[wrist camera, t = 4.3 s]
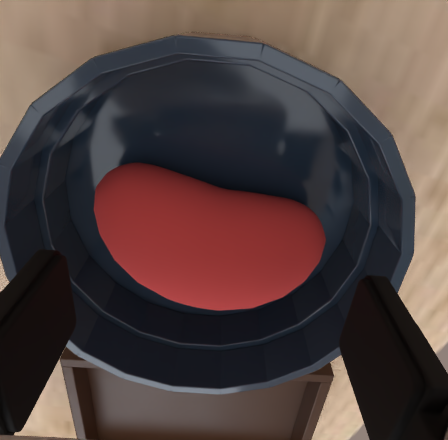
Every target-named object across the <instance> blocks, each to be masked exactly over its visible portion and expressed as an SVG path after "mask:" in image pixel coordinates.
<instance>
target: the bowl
mask: <svg viewBox="0 0 448 440" xmlns="http://www.w3.org/2000/svg"><path fill="white" fill-rule="evenodd" d="M128 163H145V164H152V165H155V166H159V167H162V168H165V169H168V170H171V171H174V172H177V173H180V174H183V175H186V176H189V177H192V178H194V179H197V180H200V181H203V182H206V183H209V184H211V185H214V186H217V187H220V188H224V189H229V190H237V191H246V192H253V193H260V194H266V195H271V196H278V197H283V198H287V199H291V200H295V201H297V202H299V203H301V204H304V205H305V206H307V207H308V208H310V209H311V210H312V211H313V212H314V213H315V214H316V215H317V217H318V218H319V220H320V221H321V223H322V226H323V230H324V233H325V238H326V243H325V246H324V249H323V252H322V256H321V259H320V261H319V263H318V264H317V266H316V267H315V268H314V270H313V271H312V272H311V274H310V275H309V276H308V278H307V279H306V280H305V281H304V282H303V283H302V284H300V285H299V286H298V287H296V288H295V289H294V290H292V291H291V292H289V293H288V294H287V295H285V296H284V297H282V298H279V299H277V300H274V301H271V302H268V303H265V304H263V305H260V306H257V307H254V308H249V309H235V310H210V309H203V308H197V307H193V306H188V305H185V304H181V303H178V302H175V301H172V300H169V299H167V298H165V297H163V296H161V295H160V294H158V293H156V292H154V291H152V290H150V289H149V288H147V287H145V286H143V285H141V284H140V283H138V282H137V281H136V280H135V279H134V278H133V277H131V276H130V275H129V274H128V273H127V272H126V271H125V270H124V269H123V268H122V267H121V266H120V265H119V264H118V263H117V262H116V261H115V260H114V258H113V257H112V255H111V253H110V251H109V250H108V248H107V246H106V245H105V243H104V241H103V239H102V238H101V236H100V234H99V230H98V226H97V221H96V217H95V213H94V200H95V189H96V187H97V185H98V184H99V182H100V181H101V180H102V179H103V177H104V176H105V175H106V174H107V173H108V172H109V171H111V170H112V169H114V168H116V167H119V166H121V165H124V164H128ZM415 198H416V197H415V193H414V190H413V187H412V185H411V182H410V180H409V177H408V174H407V172H406V169H405V166H404V164H403V161H402V159H401V156H400V153H399V151H398V148H397V145H396V143H395V140H394V138H393V135H391V132H390V131H389V130H388V129H387V128H386V127H385V126H384V125H383V124H382V123H381V122H380V121H379V120H378V118H377V117H376V116H375V115H374V114H373V113H372V112H371V111H370V110H369V109H368V108H367V107H366V106H365V105H364V104H363V103H362V101H361V100H360V99H359V98H358V97H357V96H356V95H355V94H354V93H353V92H352V91H351V90H350V89H349V88H348V87H347V86H346V85H345V83H344V82H343V81H342V80H340V79H339V78H337V77H335V76H333V75H331V74H329V73H327V72H325V71H323V70H321V69H319V68H317V67H315V66H313V65H311V64H309V63H307V62H305V61H303V60H301V59H299V58H297V57H295V56H292V55H290V54H288V53H286V52H284V51H282V50H280V49H278V48H276V47H274V46H271V45H269V44H267V43H265V42H263V41H261V40H259V39H257V38H252V37H248V36H237V35H226V34H215V33H204V32H185V33H180V34H176V35H172V36H168V37H164V38H161V39H157V40H153V41H150V42H146V43H142V44H139V45H135V46H131V47H128V48H124V49H120V50H117V51H113V52H109V53H106V54H102V55H99V56H95V57H93V58H91V59H89V60H88V61H87V62H85V63H84V64H83V65H81V66H80V67H79V68H77V69H76V70H75V71H73V72H72V73H71V74H69V75H68V76H67V77H65V78H64V79H63V80H62V81H60V82H59V83H58V84H56V85H55V86H54V87H52V88H51V89H50V90H48V91H47V92H46V93H44V94H43V95H42V96H40V97H39V98H38V99H36V100H35V101H34V102H32V104H31V105H30V106H29V108H28V110H27V111H26V113H25V115H24V117H23V118H22V120H21V122H20V124H19V125H18V127H17V129H16V131H15V133H14V134H13V136H12V138H11V140H10V141H9V143H8V145H7V147H6V148H5V150H4V152H3V154H2V155H1V157H0V257H1V260H2V264H3V268H4V271H5V275H6V277H7V279H8V281H9V282H10V281H11V280H12V279H13V278H14V277H15V276H16V275H17V273H18V272H19V271H20V270H21V269H22V268H23V267H24V265H25V264H26V263H27V262H28V261H29V260H30V258H31V257H32V256H33V255H34V254H35V253H36V252H37V251H38V250H40V249H45V250H58V251H60V253H61V255H62V256H65V257H66V259H67V264H68V270H69V276H70V282H71V288H72V294H73V301H74V307H75V313H76V326H75V329H74V331H73V333H72V335H71V337H70V339H69V341H68V343H67V345H66V347H67V348H68V349H69V350H70V351H72V352H73V353H74V354H75V355H77V356H78V357H80V358H82V359H84V360H86V361H88V362H90V363H92V364H94V365H96V366H98V367H100V368H102V369H104V370H106V371H108V372H110V373H112V374H114V375H116V376H118V377H120V378H123V379H125V380H129V381H132V382H136V383H140V384H144V385H147V386H151V387H155V388H159V389H163V390H166V391H172V392H183V393H200V394H217V395H220V394H222V395H223V394H230V393H237V392H244V391H251V390H258V389H265V388H270V387H274V386H277V385H279V384H282V383H285V382H287V381H290V380H293V379H296V378H298V377H301V376H304V375H307V374H309V373H312V372H315V371H317V370H319V369H320V368H322V367H323V366H325V365H326V364H328V363H329V362H331V361H332V360H334V359H335V358H337V357H338V356H340V355H341V352H340V348H339V339H340V336H341V333H342V330H343V327H344V324H345V321H346V318H347V315H348V312H349V309H350V306H351V303H352V300H353V297H354V294H355V291H356V288H357V285H358V282H359V280H360V279H364V278H365V277H366V276H367V275H374V276H385V277H387V278H388V279H389V281H390V283H391V284H392V286H393V287H394V289H395V291H396V292H397V293H398V291H399V288H400V286H401V284H402V281H403V279H404V276H405V274H406V272H407V269H408V267H409V264H410V262H411V260H412V257H413V253H414V232H415Z"/></svg>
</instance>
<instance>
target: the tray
mask: <svg viewBox="0 0 448 440" xmlns="http://www.w3.org/2000/svg"><path fill="white" fill-rule="evenodd" d="M60 362H61V366H62V371H63V375H64V380H65V385H66V389H67V394H68V398H69V403H70V408H71V412H72V417H73V422H74V426H75V431H76V435H77V439H89V440H311V439H312V436H313V433H314V431H315V428H316V425H317V422H318V419H319V416H320V414H321V411H322V408H323V405H324V402H325V400H326V397H327V394H328V391H329V388H330V386H331V383H332V380H333V377H334V374H333V371H332V368H331V364H330V362H329V363H328V364H326V365H325V366H323V367H322V368H320V369H319V370H317V371H315V372H312V373H309V374H307V375H304V376H301V377H298V378H296V379H293V380H290V381H287V382H285V383H282V384H279V385H277V386H274V387H270V388H265V389H258V390H251V391H244V392H237V393H230V394H223V395H222V394H220V395H217V394H200V393H183V392H172V391H166V390H163V389H159V388H155V387H151V386H147V385H144V384H140V383H136V382H132V381H129V380H125V379H123V378H120V377H118V376H116V375H114V374H112V373H110V372H108V371H106V370H104V369H102V368H100V367H98V366H96V365H94V364H92V363H90V362H88V361H86V360H84V359H82V358H80V357H78V356H77V355H75V354H74V353H73V352H72V351H70V350H69V349H68V348H67V347H66V348H65V350H64V352H63V354H62V356H61V358H60Z"/></svg>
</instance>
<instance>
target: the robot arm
mask: <svg viewBox="0 0 448 440" xmlns="http://www.w3.org/2000/svg"><path fill="white" fill-rule="evenodd" d="M75 326H76V313H75V307H74V301H73V294H72V288H71V282H70V276H69V270H68V264H67V259H66V257H65V256H62V255H61V253H60V251H58V250H45V249H40V250H38V251H37V252H36V253H35V254H34V255H33V256H32V257H31V258H30V260H29V261H28V262H27V263H26V264H25V265H24V267H23V268H22V269H21V270H20V271H19V272H18V273H17V275H16V276H15V277H14V278H13V279H12V280H11V281H10V283H9V284H8V285H7V286H6V287H5V288H4V289H3V290H2V291H1V292H0V440H89V439H73V438H57V437H36V436H14V433H15V432H20V431H21V430H22V429H23V427H24V425H25V423H26V422H27V420H28V418H29V416H30V414H31V412H32V410H33V408H34V406H35V404H36V402H37V400H38V399H39V397H40V395H41V393H42V391H43V389H44V387H45V385H46V383H47V381H48V379H49V377H50V376H51V374H52V372H53V370H54V368H55V366H56V364H57V362H58V360H59V358H60V356H61V354H62V353H63V351H64V349H65V347H66V345H67V343H68V341H69V339H70V337H71V335H72V333H73V331H74V329H75ZM339 348H340V352H341V355H342V358H343V361H344V364H345V367H346V370H347V373H348V376H349V379H350V382H351V385H352V388H353V391H354V394H355V397H356V400H357V403H358V406H359V409H360V412H361V415H362V418H363V421H364V424H365V427H366V430H367V433H368V436H369V439H370V440H448V374H447V372H446V370H445V369H444V367H443V365H442V364H441V362H440V361H439V359H438V357H437V356H436V354H435V352H434V351H433V349H432V348H431V346H430V344H429V343H428V341H427V340H426V338H425V336H424V335H423V333H422V331H421V330H420V328H419V327H418V325H417V324H416V323H415V321H414V320H413V318H412V317H411V315H410V313H409V312H408V310H407V308H406V307H405V305H404V304H403V302H402V300H401V299H400V297H399V295H398V294H397V292H396V291H395V289H394V287H393V286H392V284H391V283H390V281H389V279H388V278H387V277H385V276H374V275H367V276H366V277H365V278H364V279H360V280H359V282H358V285H357V288H356V291H355V294H354V297H353V300H352V303H351V306H350V309H349V312H348V315H347V318H346V321H345V324H344V327H343V330H342V333H341V336H340V339H339Z"/></svg>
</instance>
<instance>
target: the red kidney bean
mask: <svg viewBox="0 0 448 440" xmlns="http://www.w3.org/2000/svg"><path fill="white" fill-rule="evenodd" d="M94 213H95V217H96V221H97V226H98V230H99V234H100V236H101V238H102V239H103V241H104V243H105V245H106V246H107V248H108V250H109V251H110V253H111V255H112V257H113V258H114V260H115V261H116V262H117V263H118V264H119V265H120V266H121V267H122V268H123V269H124V270H125V271H126V272H127V273H128V274H129V275H130V276H131V277H133V278H134V279H135V280H136V281H137V282H138V283H140V284H141V285H143V286H145V287H147V288H149V289H150V290H152V291H154V292H156V293H158V294H160V295H161V296H163V297H165V298H167V299H169V300H172V301H175V302H178V303H181V304H185V305H188V306H193V307H197V308H203V309H210V310H235V309H249V308H254V307H257V306H260V305H263V304H265V303H268V302H271V301H274V300H277V299H279V298H282V297H284V296H285V295H287V294H288V293H289V292H291V291H292V290H294V289H295V288H296V287H298V286H299V285H300V284H302V283H303V282H304V281H305V280H306V279H307V278H308V276H309V275H310V274H311V272H312V271H313V270H314V268H315V267H316V266H317V264H318V263H319V261H320V259H321V256H322V252H323V249H324V246H325V243H326V238H325V233H324V230H323V226H322V223H321V221H320V220H319V218H318V217H317V215H316V214H315V213H314V212H313V211H312V210H311V209H310V208H308V207H307V206H305V205H304V204H301V203H299V202H297V201H295V200H291V199H287V198H283V197H278V196H271V195H266V194H260V193H253V192H246V191H237V190H229V189H224V188H220V187H217V186H214V185H211V184H209V183H206V182H203V181H200V180H197V179H194V178H192V177H189V176H186V175H183V174H180V173H177V172H174V171H171V170H168V169H165V168H162V167H159V166H155V165H152V164H145V163H128V164H124V165H121V166H119V167H116V168H114V169H112V170H111V171H109V172H108V173H107V174H106V175H105V176H104V177H103V179H102V180H101V181H100V182H99V184H98V185H97V187H96V189H95V200H94Z"/></svg>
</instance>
